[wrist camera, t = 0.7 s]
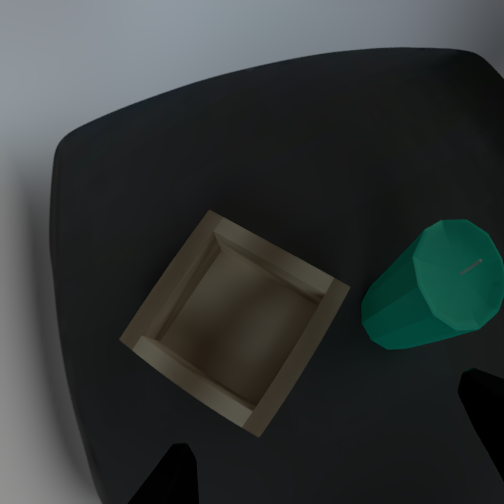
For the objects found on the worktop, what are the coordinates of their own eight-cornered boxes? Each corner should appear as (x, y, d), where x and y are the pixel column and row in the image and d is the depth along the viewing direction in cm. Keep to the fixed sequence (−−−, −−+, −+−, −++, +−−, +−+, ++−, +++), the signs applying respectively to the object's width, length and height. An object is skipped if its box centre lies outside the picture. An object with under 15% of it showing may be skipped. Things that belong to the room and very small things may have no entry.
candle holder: (337, 302, 23) (350, 286, 19) (262, 425, 20) (259, 437, 16) (219, 236, 26) (209, 209, 22) (145, 346, 23) (119, 339, 19)
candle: (433, 286, 23) (520, 224, 12) (420, 357, 21) (519, 337, 10) (369, 267, 24) (431, 186, 13) (351, 340, 22) (418, 308, 11)
